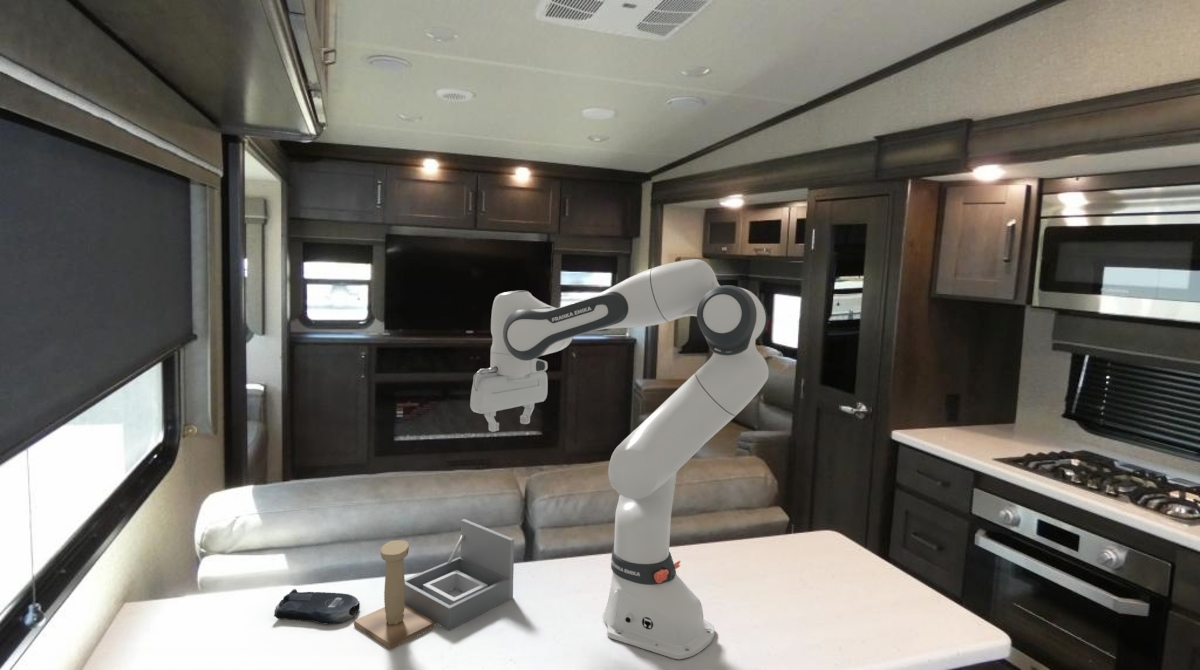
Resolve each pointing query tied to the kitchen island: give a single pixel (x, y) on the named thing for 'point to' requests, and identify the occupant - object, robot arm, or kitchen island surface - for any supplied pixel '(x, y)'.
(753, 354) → the robot arm
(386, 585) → the handle
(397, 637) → the walnut pad
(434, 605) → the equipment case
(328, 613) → the electronic device
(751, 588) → the kitchen island surface
